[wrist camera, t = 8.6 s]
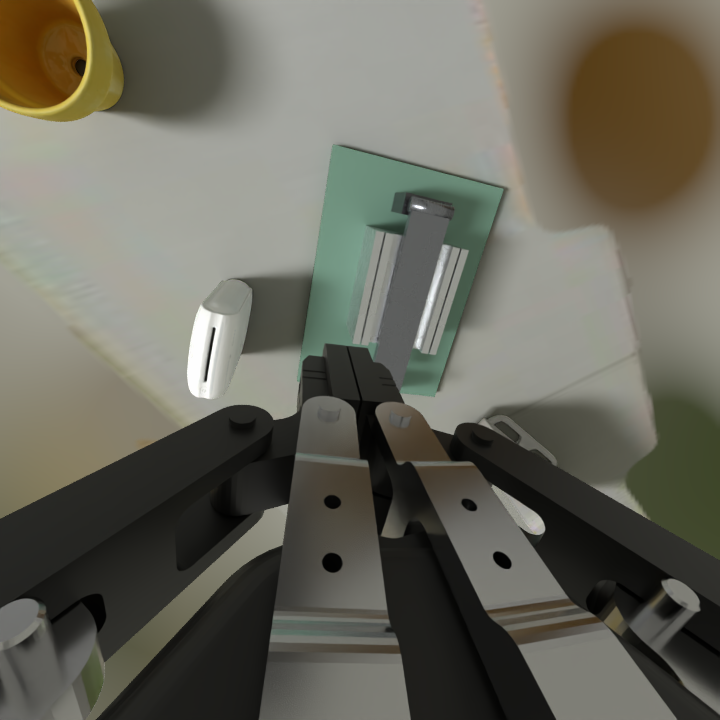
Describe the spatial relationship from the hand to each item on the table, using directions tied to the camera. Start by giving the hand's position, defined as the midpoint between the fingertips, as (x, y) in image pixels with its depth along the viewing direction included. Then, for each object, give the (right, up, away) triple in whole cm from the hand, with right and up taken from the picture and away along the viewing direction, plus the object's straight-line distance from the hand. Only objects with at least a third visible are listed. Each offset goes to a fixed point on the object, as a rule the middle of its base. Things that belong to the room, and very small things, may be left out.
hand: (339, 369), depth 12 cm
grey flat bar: (+6, +7, +27) cm, 28 cm away
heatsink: (+5, +8, +32) cm, 33 cm away
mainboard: (+5, +9, +33) cm, 34 cm away
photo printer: (-15, +5, +31) cm, 35 cm away
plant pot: (-24, +27, +20) cm, 41 cm away
